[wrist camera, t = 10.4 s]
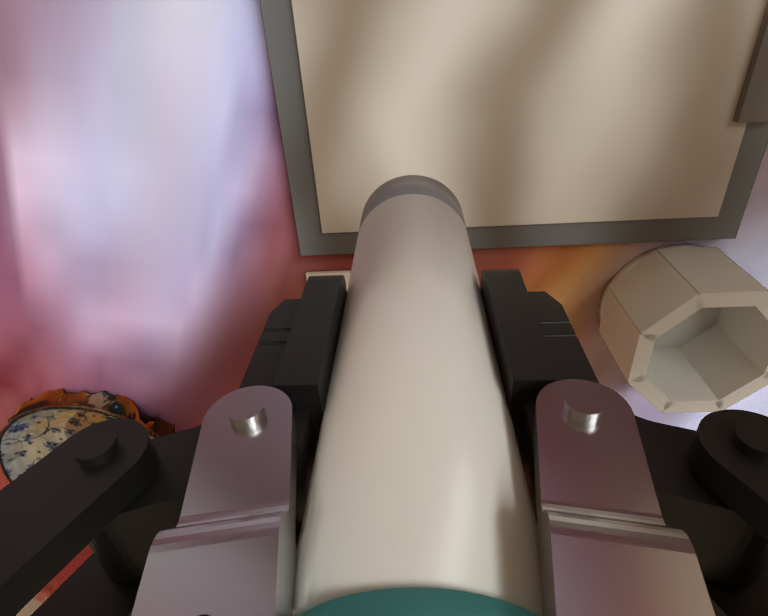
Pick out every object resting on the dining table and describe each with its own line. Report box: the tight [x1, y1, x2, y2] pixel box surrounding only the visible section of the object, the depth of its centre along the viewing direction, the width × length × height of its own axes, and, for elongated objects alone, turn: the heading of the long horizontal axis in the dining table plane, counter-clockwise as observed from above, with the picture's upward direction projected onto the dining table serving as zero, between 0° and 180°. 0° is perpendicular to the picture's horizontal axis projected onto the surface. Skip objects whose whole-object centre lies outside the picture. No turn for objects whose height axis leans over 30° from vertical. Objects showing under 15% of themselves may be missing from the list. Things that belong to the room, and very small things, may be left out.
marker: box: [293, 175, 543, 616], centre depth 9 cm, size 3×3×14 cm
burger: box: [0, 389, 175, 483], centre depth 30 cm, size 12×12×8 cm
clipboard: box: [260, 0, 768, 256], centre depth 20 cm, size 20×16×1 cm
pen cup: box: [599, 244, 768, 413], centre depth 24 cm, size 6×6×4 cm
